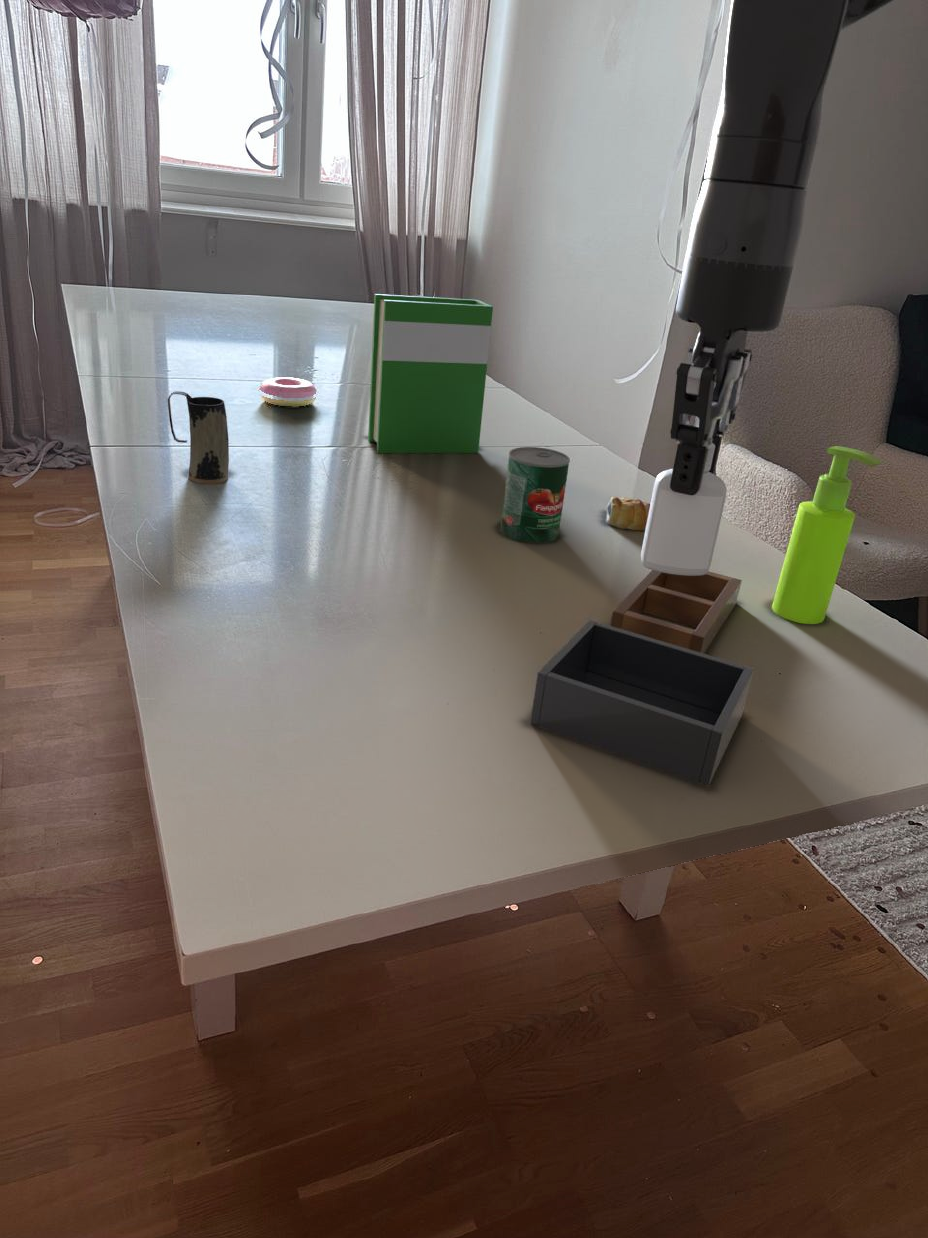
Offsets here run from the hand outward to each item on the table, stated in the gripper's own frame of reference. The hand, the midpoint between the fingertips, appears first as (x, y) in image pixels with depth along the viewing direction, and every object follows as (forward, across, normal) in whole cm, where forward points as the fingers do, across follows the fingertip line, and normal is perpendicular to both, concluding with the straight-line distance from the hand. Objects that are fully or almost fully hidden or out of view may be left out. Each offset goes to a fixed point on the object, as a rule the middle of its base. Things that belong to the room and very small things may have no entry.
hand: (691, 484), depth 71 cm
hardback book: (+22, +62, +59) cm, 88 cm away
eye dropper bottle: (+7, 0, 0) cm, 7 cm away
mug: (+22, +24, +74) cm, 81 cm away
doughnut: (+22, +69, +94) cm, 119 cm away
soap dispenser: (+22, +32, -9) cm, 40 cm away
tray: (+22, +21, +3) cm, 31 cm away
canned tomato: (+22, +35, +27) cm, 49 cm away
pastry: (+22, +49, +17) cm, 56 cm away
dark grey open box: (+22, -2, 0) cm, 22 cm away
